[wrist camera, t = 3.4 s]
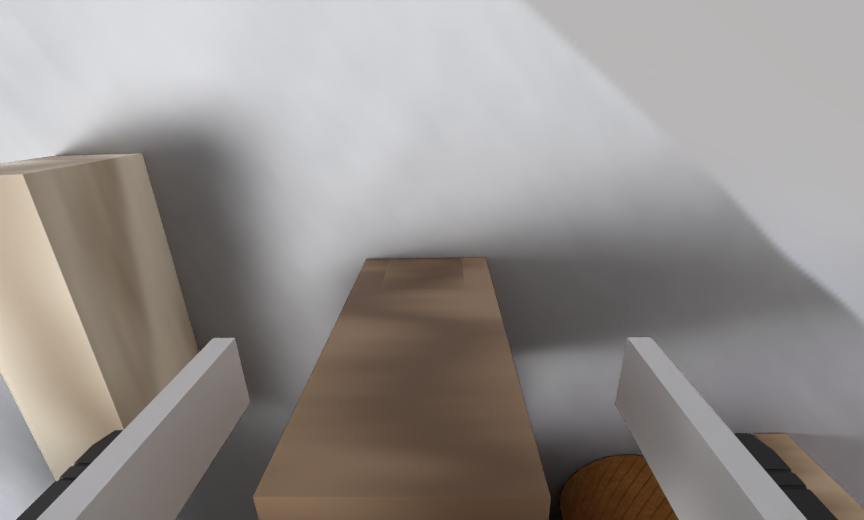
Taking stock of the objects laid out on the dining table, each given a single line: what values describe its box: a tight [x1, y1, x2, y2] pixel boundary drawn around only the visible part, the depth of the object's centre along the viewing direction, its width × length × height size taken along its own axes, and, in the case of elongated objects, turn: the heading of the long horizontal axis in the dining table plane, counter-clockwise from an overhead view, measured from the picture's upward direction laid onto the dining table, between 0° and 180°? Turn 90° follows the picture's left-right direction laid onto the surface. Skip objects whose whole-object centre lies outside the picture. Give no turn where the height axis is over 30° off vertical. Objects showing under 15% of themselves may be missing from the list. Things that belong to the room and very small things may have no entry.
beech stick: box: [0, 153, 199, 481], centre depth 16 cm, size 4×12×5 cm, turn 2°
